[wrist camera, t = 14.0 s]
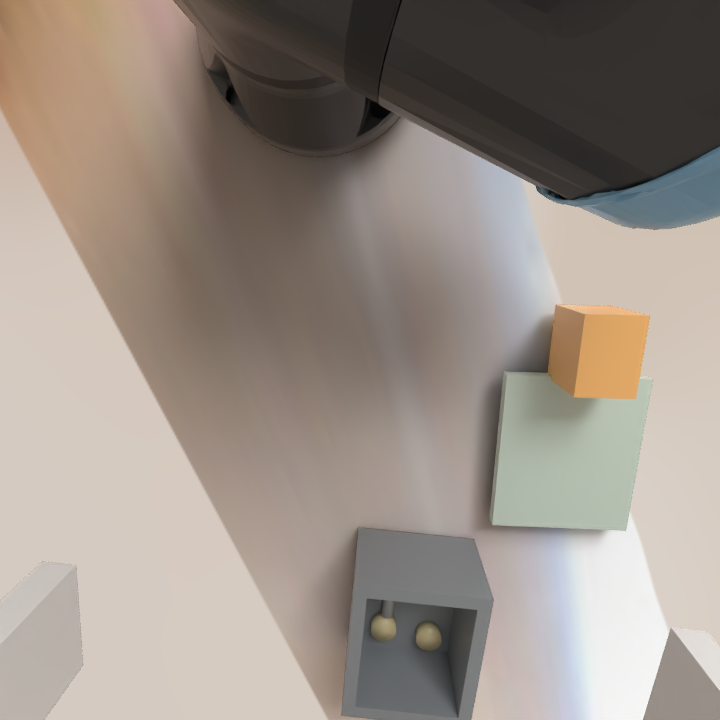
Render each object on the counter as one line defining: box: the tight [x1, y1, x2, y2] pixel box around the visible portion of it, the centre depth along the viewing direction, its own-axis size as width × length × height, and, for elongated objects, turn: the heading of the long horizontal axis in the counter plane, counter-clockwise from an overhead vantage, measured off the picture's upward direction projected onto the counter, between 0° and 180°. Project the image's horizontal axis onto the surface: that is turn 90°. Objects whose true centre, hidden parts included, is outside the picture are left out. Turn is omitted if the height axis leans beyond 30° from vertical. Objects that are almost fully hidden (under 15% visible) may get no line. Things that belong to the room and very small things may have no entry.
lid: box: [490, 305, 653, 531], centre depth 34 cm, size 18×11×6 cm, turn 179°
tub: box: [341, 528, 494, 720], centre depth 38 cm, size 12×10×7 cm
